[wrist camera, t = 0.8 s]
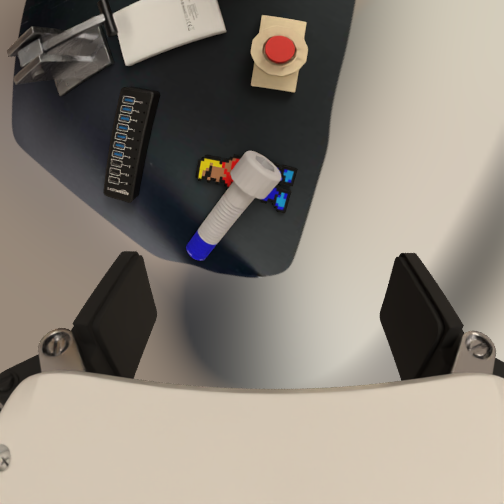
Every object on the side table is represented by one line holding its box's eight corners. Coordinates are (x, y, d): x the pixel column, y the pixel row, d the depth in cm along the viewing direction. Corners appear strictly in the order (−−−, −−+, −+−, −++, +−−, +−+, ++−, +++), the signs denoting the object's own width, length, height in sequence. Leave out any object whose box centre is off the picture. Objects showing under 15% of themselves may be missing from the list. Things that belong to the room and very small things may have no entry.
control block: (258, 16, 26) (257, 10, 24) (309, 25, 26) (312, 19, 24) (247, 85, 31) (245, 84, 28) (297, 93, 31) (300, 93, 28)
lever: (108, 3, 21) (106, -5, 19) (118, 35, 23) (117, 28, 21) (21, 47, 19) (15, 42, 17) (30, 80, 21) (23, 77, 19)
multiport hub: (160, 92, 31) (154, 92, 29) (138, 197, 38) (131, 203, 36) (129, 86, 31) (121, 86, 29) (110, 189, 38) (102, 195, 36)
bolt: (245, 158, 30) (284, 185, 31) (247, 144, 33) (281, 167, 35) (175, 255, 38) (208, 273, 39) (183, 233, 42) (213, 250, 43)
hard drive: (117, 15, 26) (211, -21, 24) (131, 66, 29) (227, 32, 27) (112, 13, 24) (208, -25, 22) (125, 66, 28) (225, 30, 26)
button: (267, 36, 26) (267, 33, 24) (295, 41, 26) (296, 38, 24) (263, 61, 27) (263, 59, 26) (291, 65, 27) (292, 64, 26)
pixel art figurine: (297, 168, 36) (200, 148, 35) (297, 169, 35) (200, 148, 34) (284, 212, 39) (193, 192, 38) (285, 213, 38) (193, 193, 37)
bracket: (99, 16, 25) (45, 3, 15) (114, 63, 29) (60, 60, 19) (50, 51, 27) (-7, 53, 17) (64, 95, 31) (6, 107, 21)
